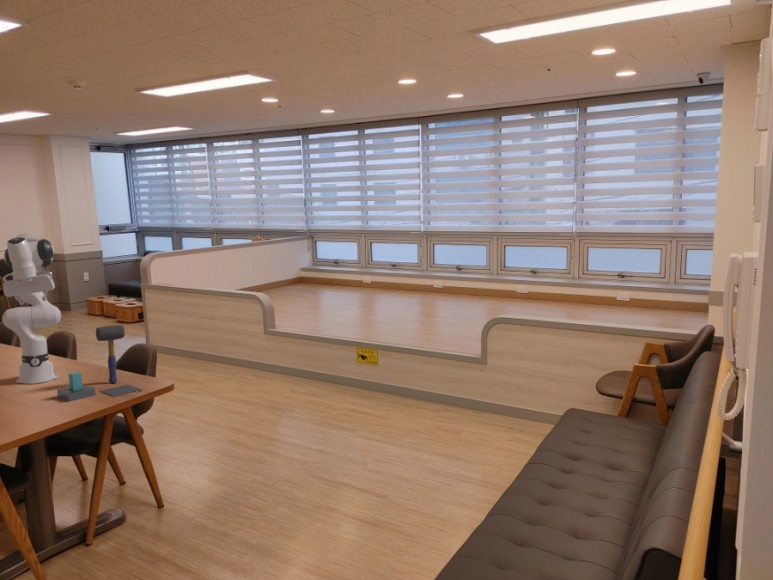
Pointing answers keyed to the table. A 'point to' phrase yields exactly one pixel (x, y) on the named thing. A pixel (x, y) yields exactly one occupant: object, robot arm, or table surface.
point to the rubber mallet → (110, 345)
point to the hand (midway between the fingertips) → (33, 302)
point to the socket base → (76, 393)
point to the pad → (120, 390)
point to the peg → (75, 381)
